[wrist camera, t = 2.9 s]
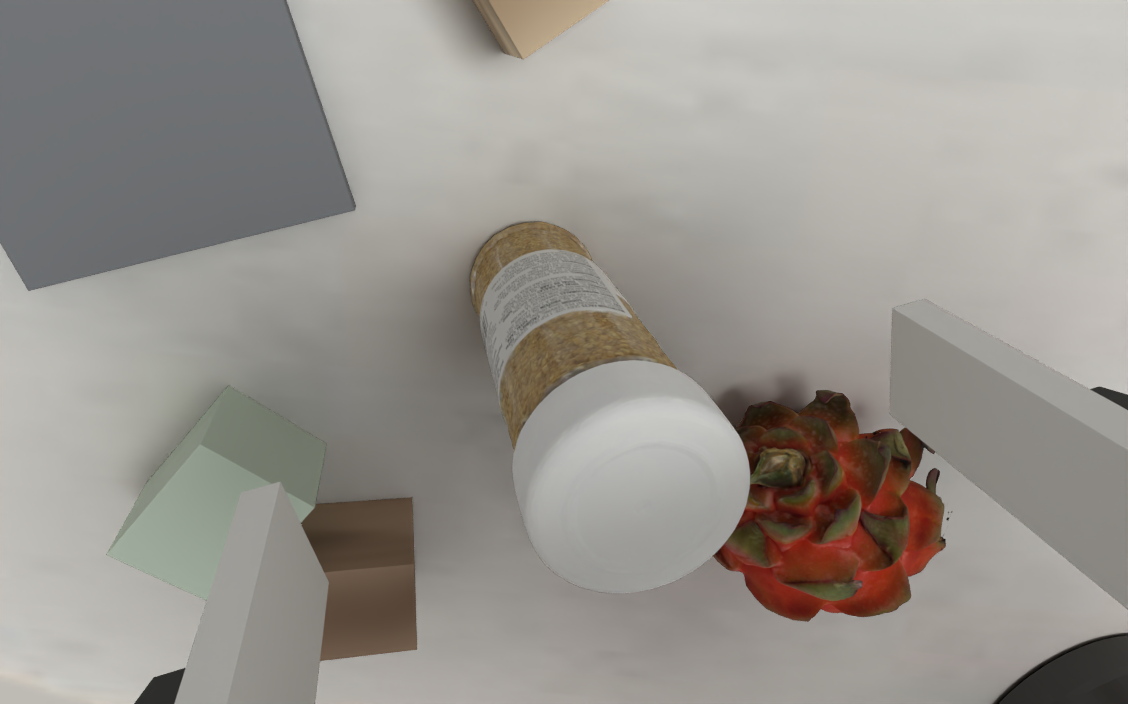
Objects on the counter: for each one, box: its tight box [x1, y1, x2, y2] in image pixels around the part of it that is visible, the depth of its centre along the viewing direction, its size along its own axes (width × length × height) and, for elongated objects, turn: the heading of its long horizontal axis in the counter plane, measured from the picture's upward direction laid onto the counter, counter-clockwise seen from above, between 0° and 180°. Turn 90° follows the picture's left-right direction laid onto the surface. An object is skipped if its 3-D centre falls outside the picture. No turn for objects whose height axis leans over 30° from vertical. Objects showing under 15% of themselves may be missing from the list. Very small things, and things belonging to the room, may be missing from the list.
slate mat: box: [0, 0, 356, 291], centre depth 20 cm, size 10×10×1 cm
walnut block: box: [302, 497, 417, 661], centre depth 27 cm, size 4×4×4 cm
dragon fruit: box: [713, 390, 952, 622], centre depth 28 cm, size 8×8×12 cm
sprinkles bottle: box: [470, 222, 750, 594], centre depth 19 cm, size 5×5×14 cm
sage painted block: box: [106, 385, 326, 601], centre depth 24 cm, size 4×5×4 cm
